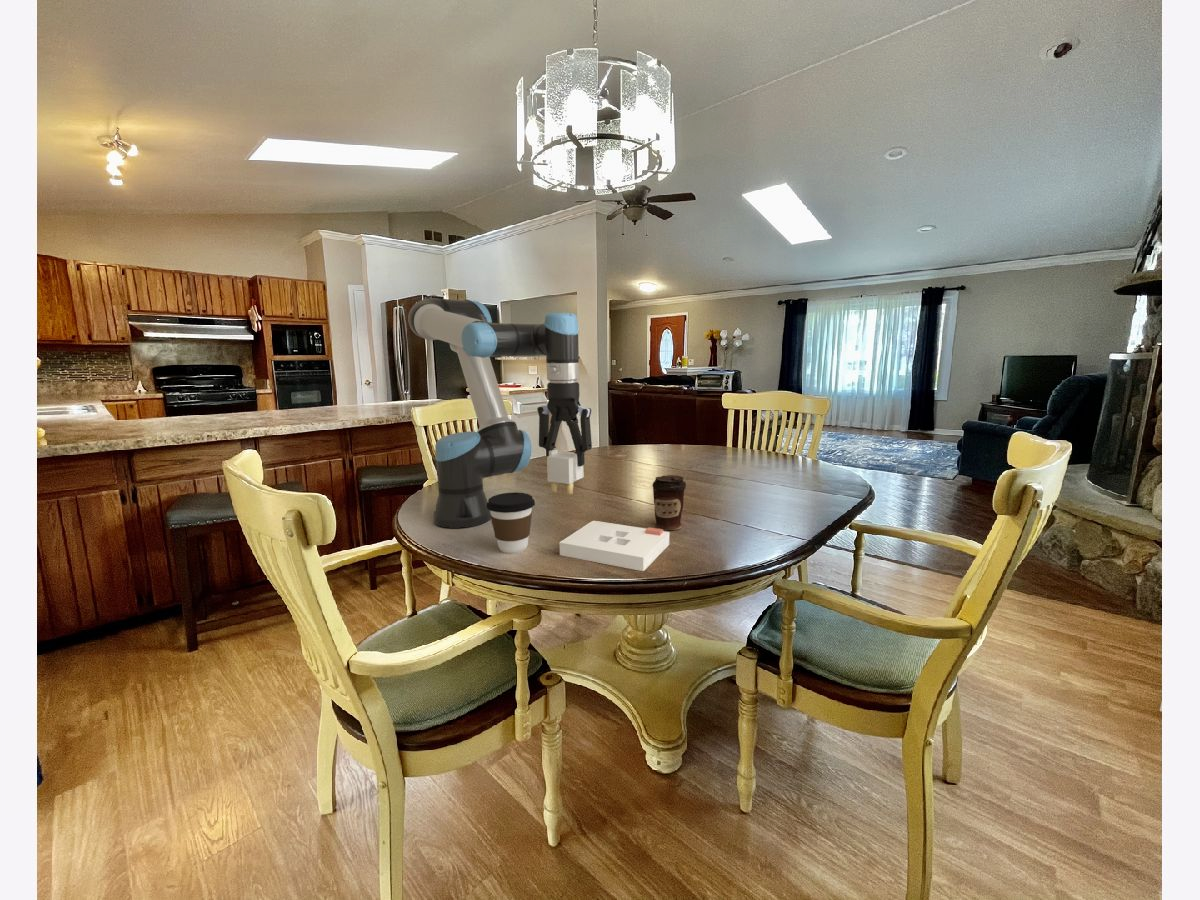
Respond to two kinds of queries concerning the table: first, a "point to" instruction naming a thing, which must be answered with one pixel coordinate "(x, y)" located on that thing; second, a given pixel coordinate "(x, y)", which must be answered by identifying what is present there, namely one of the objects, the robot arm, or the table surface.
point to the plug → (561, 470)
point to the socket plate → (616, 544)
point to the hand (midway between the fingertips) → (565, 477)
